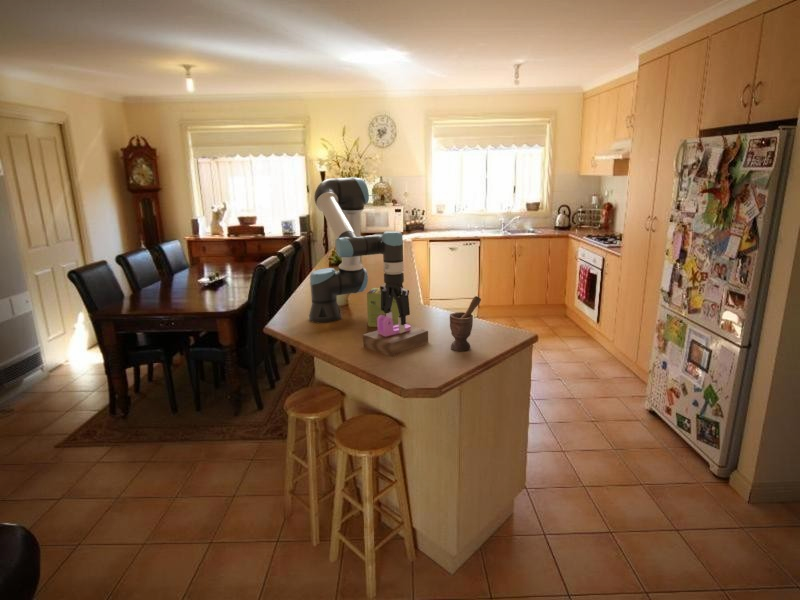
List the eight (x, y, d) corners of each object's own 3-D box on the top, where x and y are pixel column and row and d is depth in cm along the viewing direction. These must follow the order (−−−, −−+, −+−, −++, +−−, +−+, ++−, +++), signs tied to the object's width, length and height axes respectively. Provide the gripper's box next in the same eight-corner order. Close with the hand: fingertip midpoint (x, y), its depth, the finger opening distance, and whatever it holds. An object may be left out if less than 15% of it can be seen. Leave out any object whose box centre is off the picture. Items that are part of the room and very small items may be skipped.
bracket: (385, 336, 179) (384, 319, 178) (377, 333, 184) (376, 315, 182) (413, 329, 186) (412, 312, 185) (405, 326, 191) (404, 309, 189)
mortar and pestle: (468, 341, 188) (468, 292, 183) (483, 347, 181) (484, 296, 176) (445, 347, 182) (445, 297, 177) (460, 353, 175) (460, 301, 170)
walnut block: (363, 346, 185) (362, 334, 184) (399, 334, 199) (399, 322, 198) (391, 356, 174) (391, 343, 173) (428, 342, 188) (428, 330, 187)
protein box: (401, 328, 207) (400, 293, 204) (367, 326, 211) (366, 292, 207) (406, 321, 217) (405, 288, 214) (373, 320, 220) (372, 287, 217)
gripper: (369, 271, 183) (372, 327, 189) (404, 277, 170) (406, 338, 176) (383, 268, 189) (385, 323, 194) (419, 273, 175) (420, 333, 181)
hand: (395, 330), depth 185 cm, fingers closed on bracket, 6 cm apart
